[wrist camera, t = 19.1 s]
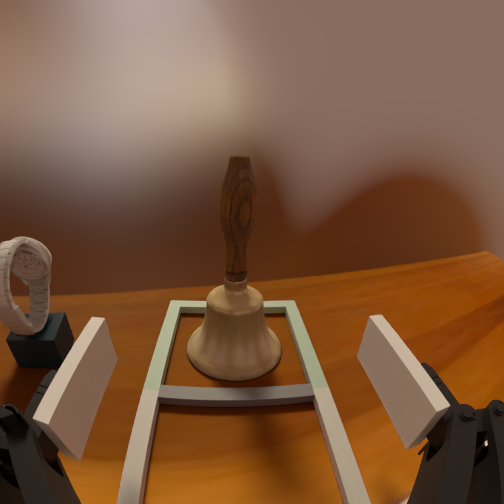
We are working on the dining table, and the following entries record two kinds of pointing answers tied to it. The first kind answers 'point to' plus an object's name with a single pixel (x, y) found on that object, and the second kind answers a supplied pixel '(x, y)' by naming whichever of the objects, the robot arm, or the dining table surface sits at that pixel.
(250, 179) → the hand bell
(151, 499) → the dining table surface
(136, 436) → the window frame
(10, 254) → the watch
